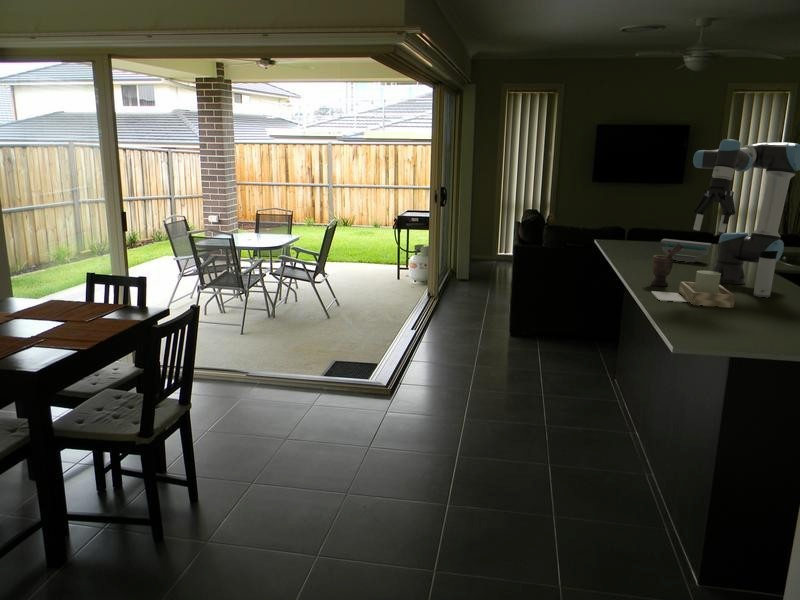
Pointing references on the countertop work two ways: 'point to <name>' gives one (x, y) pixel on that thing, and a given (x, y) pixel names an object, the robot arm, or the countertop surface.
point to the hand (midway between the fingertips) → (708, 231)
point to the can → (707, 282)
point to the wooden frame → (706, 296)
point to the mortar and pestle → (663, 266)
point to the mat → (668, 296)
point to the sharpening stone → (686, 249)
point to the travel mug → (765, 273)
